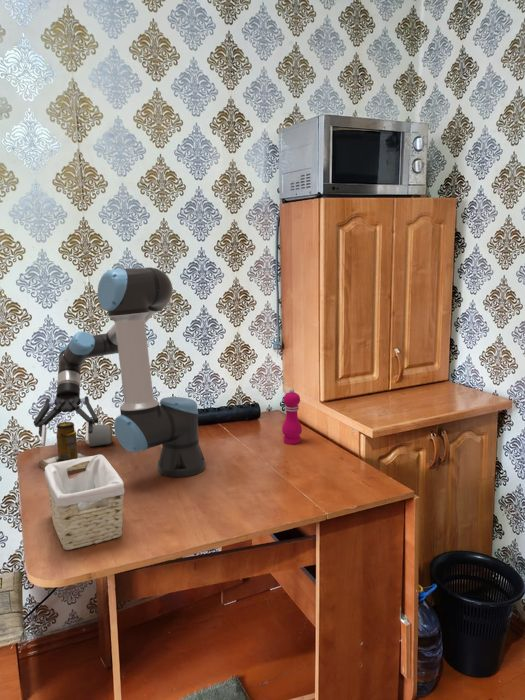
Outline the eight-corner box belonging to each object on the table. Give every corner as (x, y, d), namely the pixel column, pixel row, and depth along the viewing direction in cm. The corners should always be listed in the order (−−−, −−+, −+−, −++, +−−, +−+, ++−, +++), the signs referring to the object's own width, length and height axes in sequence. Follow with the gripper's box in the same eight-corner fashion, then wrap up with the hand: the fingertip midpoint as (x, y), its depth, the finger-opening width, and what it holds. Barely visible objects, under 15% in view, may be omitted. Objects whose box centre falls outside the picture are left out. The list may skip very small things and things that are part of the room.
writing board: (97, 465, 186) (97, 459, 186) (61, 478, 177) (60, 471, 176) (75, 455, 195) (74, 449, 195) (39, 466, 186) (38, 460, 185)
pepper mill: (283, 437, 210) (282, 385, 206) (302, 438, 209) (302, 385, 205) (281, 444, 203) (280, 390, 199) (301, 445, 202) (301, 391, 198)
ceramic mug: (114, 446, 204) (112, 425, 202) (90, 449, 201) (88, 428, 200) (111, 437, 213) (109, 417, 212) (88, 440, 211) (86, 420, 209)
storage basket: (47, 514, 153) (42, 463, 150) (107, 501, 161) (103, 451, 158) (61, 556, 132) (55, 497, 130) (129, 539, 140) (126, 483, 137)
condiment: (77, 453, 191) (74, 419, 189) (81, 462, 183) (78, 426, 181) (54, 457, 188) (51, 422, 185) (57, 466, 180) (54, 430, 178)
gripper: (107, 390, 199) (106, 445, 187) (32, 394, 195) (27, 451, 183) (104, 379, 193) (103, 435, 181) (27, 383, 189) (21, 441, 177)
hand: (65, 443), depth 182 cm, fingers open, 13 cm apart
